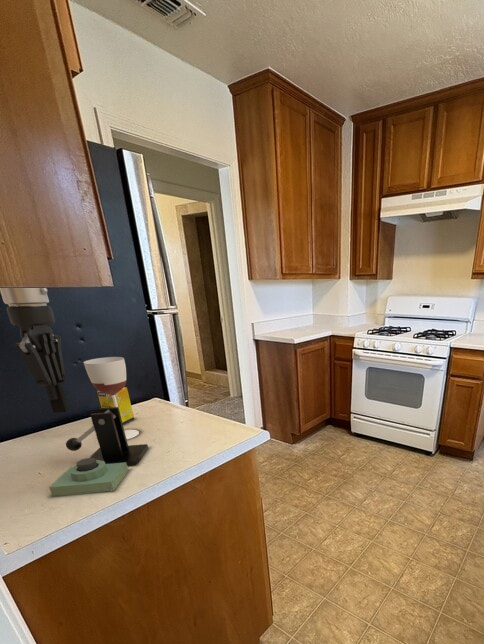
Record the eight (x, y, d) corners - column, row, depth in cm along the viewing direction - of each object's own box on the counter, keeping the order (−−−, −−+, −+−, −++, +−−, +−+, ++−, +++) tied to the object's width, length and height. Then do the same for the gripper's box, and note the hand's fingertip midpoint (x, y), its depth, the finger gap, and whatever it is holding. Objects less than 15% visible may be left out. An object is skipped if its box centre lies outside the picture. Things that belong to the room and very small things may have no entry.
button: (75, 473, 75) (73, 465, 75) (83, 465, 79) (80, 458, 78) (93, 471, 76) (91, 464, 75) (100, 463, 79) (98, 456, 78)
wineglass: (146, 433, 104) (129, 359, 96) (112, 444, 98) (90, 365, 89) (133, 426, 110) (116, 355, 101) (100, 436, 103) (78, 361, 94)
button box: (52, 496, 74) (46, 479, 72) (73, 475, 82) (68, 459, 80) (113, 490, 75) (109, 474, 74) (128, 470, 83) (124, 455, 82)
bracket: (83, 469, 84) (67, 419, 79) (100, 451, 93) (87, 405, 88) (136, 465, 86) (123, 416, 81) (148, 448, 95) (137, 402, 90)
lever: (71, 455, 86) (60, 446, 85) (77, 449, 89) (66, 441, 87) (113, 421, 84) (102, 411, 83) (118, 416, 87) (108, 407, 86)
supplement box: (105, 424, 112) (96, 391, 107) (119, 418, 117) (111, 386, 113) (121, 425, 110) (112, 392, 106) (134, 419, 116) (127, 386, 112)
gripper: (29, 306, 68) (64, 420, 78) (64, 303, 80) (91, 402, 90) (-14, 307, 67) (26, 422, 77) (27, 303, 79) (58, 403, 88)
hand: (61, 411), depth 83 cm, fingers closed
